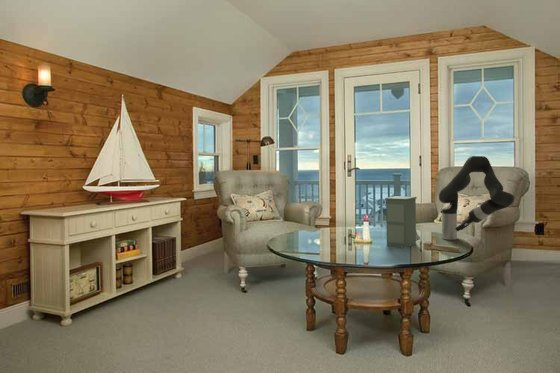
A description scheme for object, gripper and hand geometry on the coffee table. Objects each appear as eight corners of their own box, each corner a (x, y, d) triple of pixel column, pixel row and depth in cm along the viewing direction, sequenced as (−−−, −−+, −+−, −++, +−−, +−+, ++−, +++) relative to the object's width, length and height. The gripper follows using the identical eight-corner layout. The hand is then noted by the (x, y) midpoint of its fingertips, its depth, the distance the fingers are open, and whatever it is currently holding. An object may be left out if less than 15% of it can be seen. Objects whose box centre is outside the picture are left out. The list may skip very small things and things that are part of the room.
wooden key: (426, 247, 253) (426, 241, 253) (460, 251, 240) (460, 245, 240) (423, 248, 249) (423, 242, 249) (457, 252, 236) (457, 246, 236)
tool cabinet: (396, 241, 272) (396, 196, 270) (417, 243, 262) (416, 196, 261) (385, 245, 261) (385, 198, 259) (406, 248, 251) (406, 198, 249)
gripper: (480, 202, 229) (461, 215, 242) (468, 213, 221) (449, 227, 234) (490, 212, 227) (470, 225, 240) (479, 224, 220) (458, 237, 232)
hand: (460, 226), depth 237 cm, fingers open, 8 cm apart
